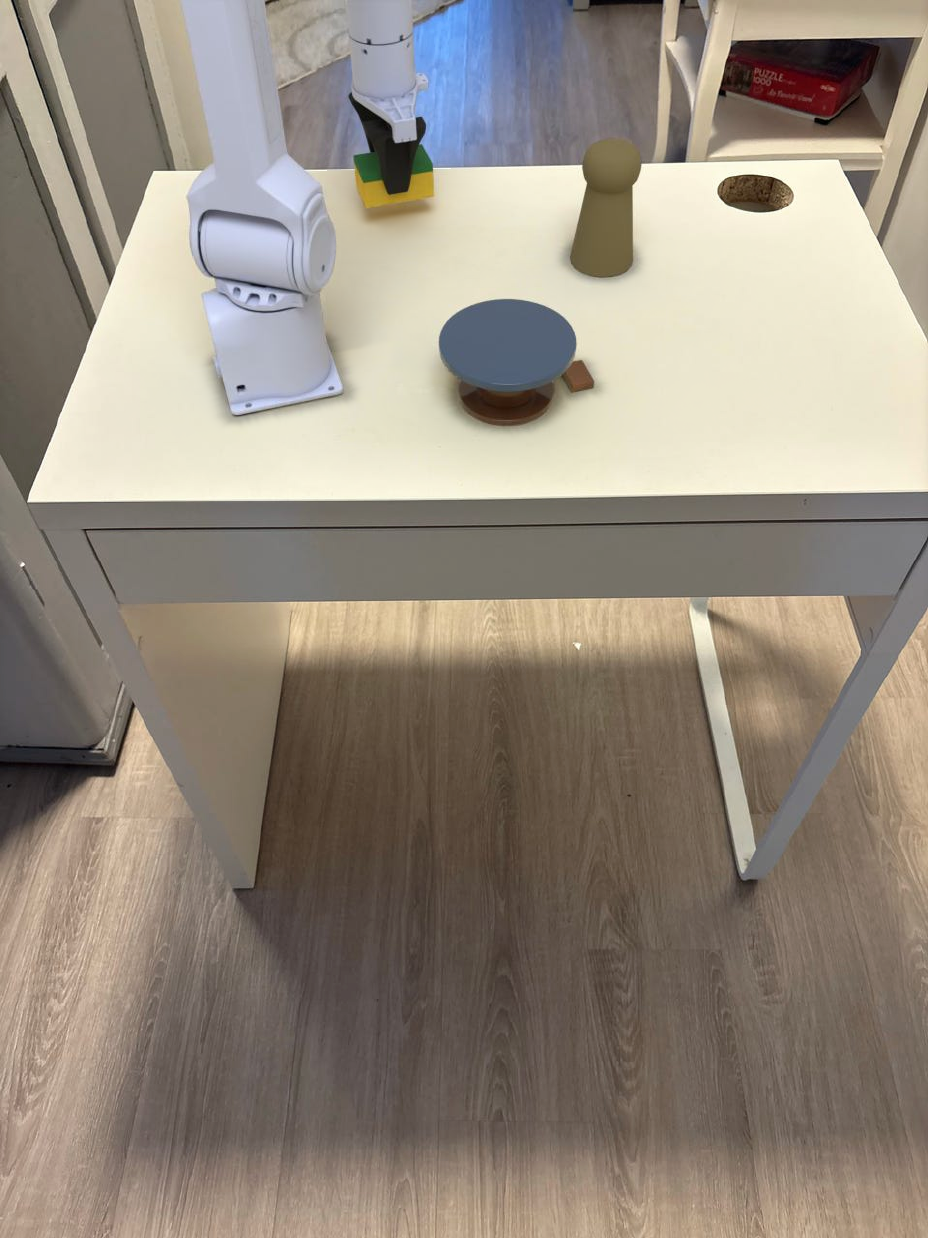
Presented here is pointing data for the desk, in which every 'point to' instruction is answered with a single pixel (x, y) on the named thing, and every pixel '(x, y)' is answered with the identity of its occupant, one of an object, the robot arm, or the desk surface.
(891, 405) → the desk surface
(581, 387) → the brown flat block
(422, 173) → the sponge
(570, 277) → the desk surface
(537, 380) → the blue-grey round pedestal
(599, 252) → the olive chess pawn
